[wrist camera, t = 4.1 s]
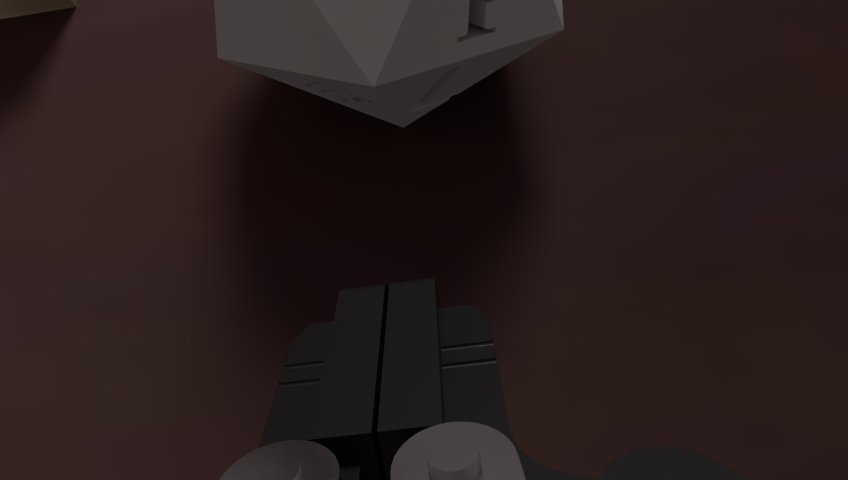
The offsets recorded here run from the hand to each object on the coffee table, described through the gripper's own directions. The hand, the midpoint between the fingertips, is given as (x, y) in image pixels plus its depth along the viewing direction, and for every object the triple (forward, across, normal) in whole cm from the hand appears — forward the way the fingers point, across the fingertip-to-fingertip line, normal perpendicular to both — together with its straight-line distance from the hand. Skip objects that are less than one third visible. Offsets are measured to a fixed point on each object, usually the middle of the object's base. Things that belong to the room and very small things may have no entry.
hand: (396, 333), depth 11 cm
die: (+11, 0, -3) cm, 11 cm away
